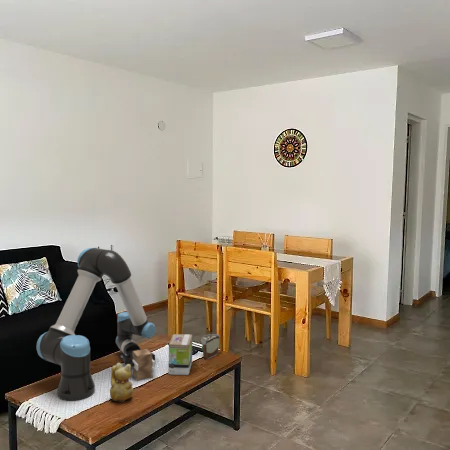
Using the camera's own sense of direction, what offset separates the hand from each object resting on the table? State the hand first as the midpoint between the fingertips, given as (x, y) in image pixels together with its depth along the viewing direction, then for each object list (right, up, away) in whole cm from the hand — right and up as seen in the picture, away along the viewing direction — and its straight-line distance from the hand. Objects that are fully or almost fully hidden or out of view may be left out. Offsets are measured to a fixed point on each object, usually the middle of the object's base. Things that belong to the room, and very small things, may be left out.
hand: (145, 366), depth 210 cm
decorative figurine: (-7, -9, -18) cm, 21 cm away
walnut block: (-2, -6, +5) cm, 8 cm away
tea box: (+14, -6, +14) cm, 21 cm away
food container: (+27, -4, +31) cm, 41 cm away
